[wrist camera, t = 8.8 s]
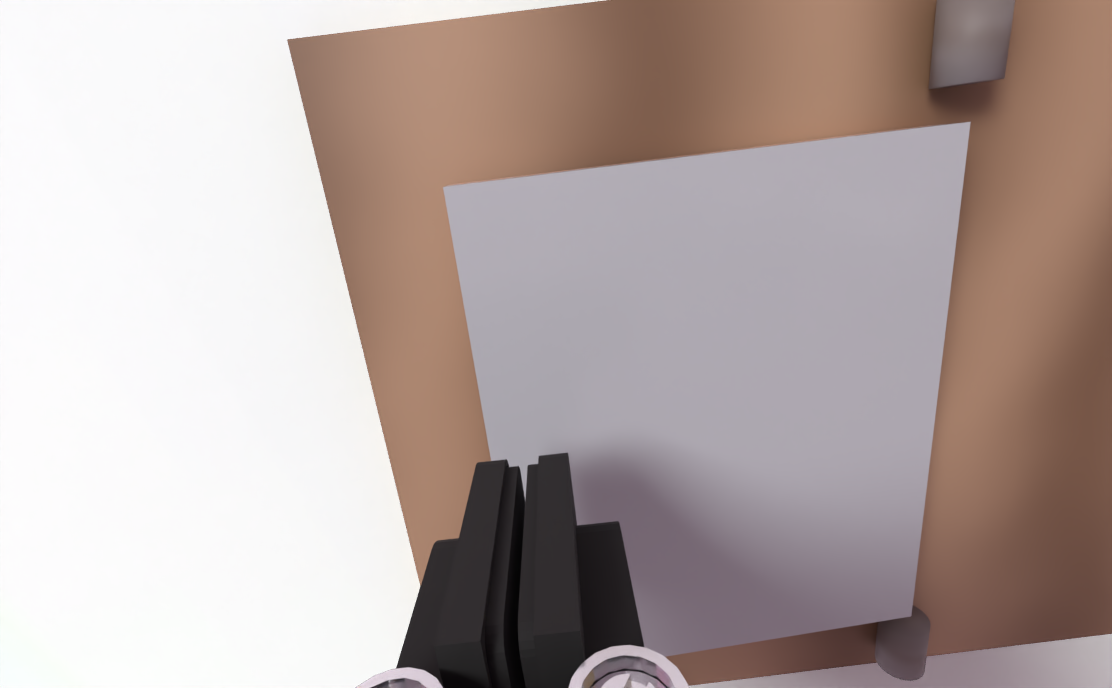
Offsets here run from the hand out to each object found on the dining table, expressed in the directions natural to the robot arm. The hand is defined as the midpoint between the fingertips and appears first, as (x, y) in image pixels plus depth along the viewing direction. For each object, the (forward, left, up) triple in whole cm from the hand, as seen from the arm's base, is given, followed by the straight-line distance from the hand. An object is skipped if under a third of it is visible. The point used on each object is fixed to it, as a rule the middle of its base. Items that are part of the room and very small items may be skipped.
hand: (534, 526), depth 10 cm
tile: (-4, 0, -2) cm, 5 cm away
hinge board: (-8, 0, -5) cm, 10 cm away
